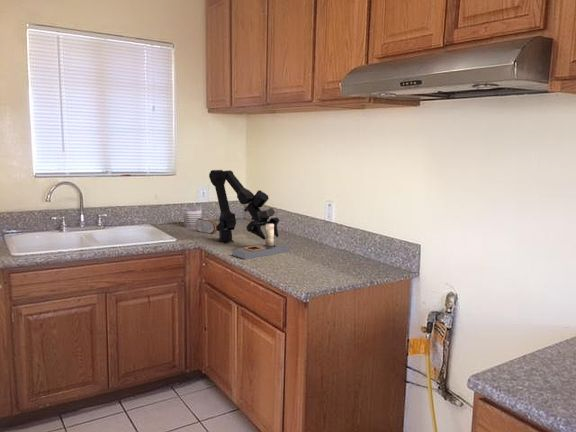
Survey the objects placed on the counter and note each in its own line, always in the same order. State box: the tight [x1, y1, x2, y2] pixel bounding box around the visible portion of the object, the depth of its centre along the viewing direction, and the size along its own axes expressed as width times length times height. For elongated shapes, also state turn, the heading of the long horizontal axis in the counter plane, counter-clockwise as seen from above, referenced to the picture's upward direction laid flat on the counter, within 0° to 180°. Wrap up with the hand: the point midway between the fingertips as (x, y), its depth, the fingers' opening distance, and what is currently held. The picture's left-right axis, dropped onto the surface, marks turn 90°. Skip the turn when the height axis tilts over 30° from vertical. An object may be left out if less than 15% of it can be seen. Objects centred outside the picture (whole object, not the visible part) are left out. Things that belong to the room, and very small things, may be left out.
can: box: [182, 205, 203, 229], centre depth 305 cm, size 11×11×12 cm
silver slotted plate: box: [231, 241, 291, 260], centre depth 238 cm, size 28×10×3 cm, turn 132°
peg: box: [265, 223, 275, 248], centre depth 241 cm, size 4×4×14 cm
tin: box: [195, 217, 218, 235], centre depth 286 cm, size 15×3×8 cm, turn 58°
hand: (271, 237), depth 240 cm, fingers open, 9 cm apart
